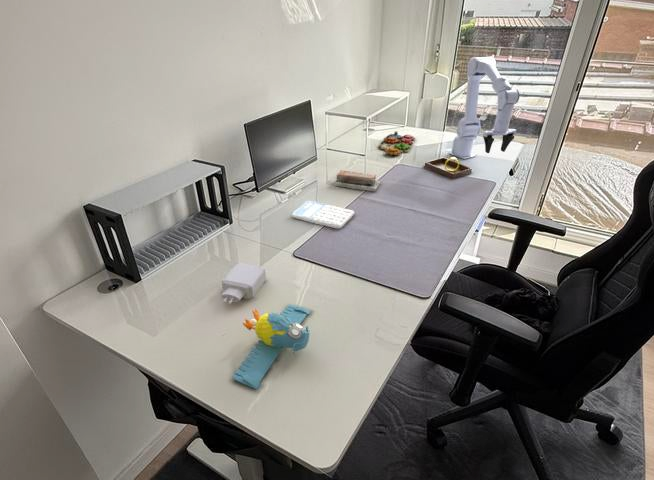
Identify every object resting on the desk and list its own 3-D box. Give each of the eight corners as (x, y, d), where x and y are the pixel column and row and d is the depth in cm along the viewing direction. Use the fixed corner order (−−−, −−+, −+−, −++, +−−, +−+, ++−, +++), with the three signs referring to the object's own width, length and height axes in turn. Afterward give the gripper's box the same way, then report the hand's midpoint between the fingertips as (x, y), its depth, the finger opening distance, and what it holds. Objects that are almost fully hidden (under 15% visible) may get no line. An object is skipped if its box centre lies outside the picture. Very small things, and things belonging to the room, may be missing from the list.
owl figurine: (276, 276, 109) (330, 291, 105) (277, 302, 114) (328, 317, 110) (213, 347, 88) (276, 370, 84) (218, 375, 94) (278, 398, 89)
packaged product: (334, 175, 175) (341, 167, 183) (333, 186, 178) (340, 177, 185) (376, 181, 170) (381, 172, 178) (375, 192, 173) (380, 183, 180)
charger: (212, 306, 113) (237, 275, 125) (243, 313, 111) (266, 281, 123) (209, 292, 110) (236, 262, 122) (241, 299, 108) (265, 267, 120)
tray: (424, 166, 196) (425, 162, 195) (442, 161, 201) (443, 157, 200) (452, 179, 184) (453, 174, 183) (471, 173, 190) (472, 168, 188)
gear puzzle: (405, 158, 204) (406, 150, 202) (373, 154, 209) (373, 146, 207) (415, 139, 228) (417, 132, 226) (386, 136, 233) (387, 129, 230)
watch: (443, 171, 191) (446, 158, 187) (444, 169, 193) (446, 156, 190) (457, 172, 190) (460, 159, 186) (457, 170, 192) (460, 157, 188)
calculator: (339, 230, 147) (339, 225, 146) (291, 217, 155) (290, 213, 154) (355, 214, 157) (355, 210, 156) (308, 203, 164) (308, 199, 163)
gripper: (492, 123, 172) (485, 156, 180) (523, 121, 175) (514, 153, 182) (483, 119, 177) (476, 150, 185) (513, 117, 180) (505, 148, 188)
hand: (494, 151), depth 184 cm, fingers open, 7 cm apart
